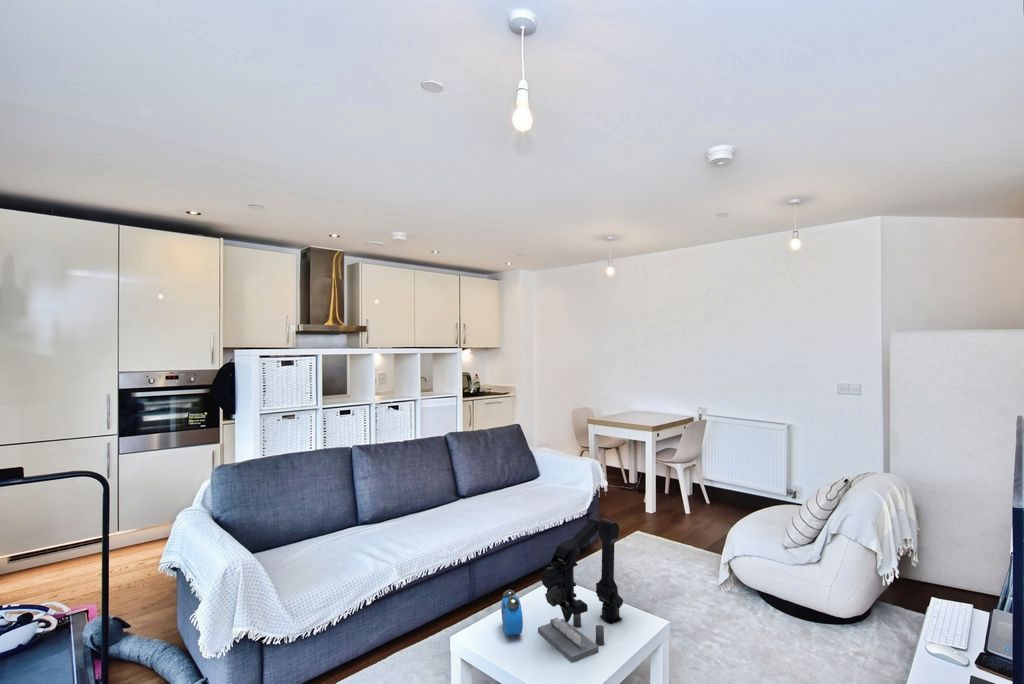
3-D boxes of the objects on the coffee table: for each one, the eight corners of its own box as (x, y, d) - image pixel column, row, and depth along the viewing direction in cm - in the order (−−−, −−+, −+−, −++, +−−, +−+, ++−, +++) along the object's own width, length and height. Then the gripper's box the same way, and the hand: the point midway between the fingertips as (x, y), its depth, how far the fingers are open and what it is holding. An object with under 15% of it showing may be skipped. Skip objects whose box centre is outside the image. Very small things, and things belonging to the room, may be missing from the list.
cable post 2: (600, 640, 184) (600, 624, 184) (605, 644, 182) (605, 627, 182) (594, 642, 183) (593, 626, 183) (599, 646, 180) (599, 630, 180)
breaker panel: (563, 623, 196) (562, 614, 196) (598, 652, 177) (598, 641, 177) (538, 632, 190) (537, 622, 190) (571, 662, 171) (571, 651, 171)
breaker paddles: (555, 623, 191) (554, 615, 192) (583, 647, 176) (583, 638, 176) (552, 624, 191) (551, 616, 191) (580, 648, 175) (580, 639, 175)
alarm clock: (523, 641, 184) (522, 601, 184) (507, 643, 183) (506, 603, 183) (515, 623, 197) (515, 585, 197) (500, 625, 195) (500, 587, 196)
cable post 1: (577, 622, 196) (577, 607, 196) (582, 626, 194) (582, 611, 194) (571, 624, 195) (571, 609, 195) (576, 628, 192) (576, 613, 192)
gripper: (535, 575, 188) (535, 616, 188) (563, 595, 172) (563, 640, 171) (558, 568, 194) (559, 608, 193) (588, 587, 177) (588, 631, 177)
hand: (566, 621), depth 183 cm, fingers closed
